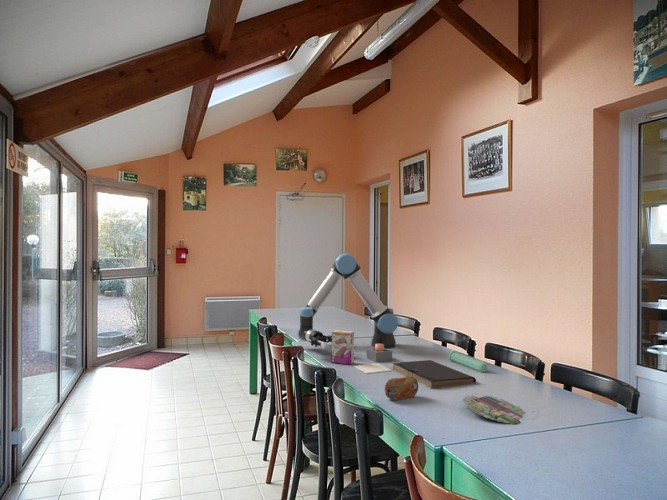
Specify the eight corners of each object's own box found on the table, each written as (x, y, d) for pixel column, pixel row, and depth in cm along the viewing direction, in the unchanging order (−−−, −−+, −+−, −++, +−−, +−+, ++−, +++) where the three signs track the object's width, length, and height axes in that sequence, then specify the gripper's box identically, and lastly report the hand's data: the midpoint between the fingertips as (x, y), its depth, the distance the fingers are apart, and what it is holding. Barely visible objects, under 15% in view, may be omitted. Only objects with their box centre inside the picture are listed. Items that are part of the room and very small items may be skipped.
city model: (521, 437, 151) (524, 420, 151) (452, 414, 163) (454, 398, 163) (533, 416, 172) (535, 400, 172) (471, 397, 185) (473, 382, 184)
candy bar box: (330, 363, 238) (331, 331, 238) (333, 360, 243) (334, 329, 243) (351, 365, 235) (351, 333, 235) (354, 362, 239) (354, 331, 239)
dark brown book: (392, 362, 227) (433, 359, 236) (392, 370, 227) (433, 367, 236) (430, 380, 196) (476, 376, 205) (430, 390, 196) (475, 385, 205)
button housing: (382, 356, 254) (382, 347, 254) (392, 360, 245) (392, 351, 245) (366, 357, 250) (366, 348, 250) (375, 362, 241) (375, 352, 241)
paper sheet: (377, 364, 237) (377, 363, 237) (391, 370, 224) (391, 370, 224) (353, 366, 232) (353, 365, 232) (366, 373, 219) (366, 372, 219)
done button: (381, 352, 251) (381, 343, 251) (385, 354, 247) (385, 344, 247) (373, 353, 249) (373, 343, 249) (377, 354, 245) (377, 345, 245)
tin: (387, 402, 178) (388, 380, 178) (383, 399, 181) (383, 378, 181) (418, 396, 185) (419, 376, 185) (414, 394, 188) (414, 374, 188)
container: (487, 360, 223) (455, 348, 247) (478, 365, 221) (447, 353, 245) (491, 371, 224) (459, 358, 248) (482, 376, 222) (450, 363, 246)
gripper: (333, 341, 268) (354, 348, 250) (295, 346, 254) (315, 353, 236) (333, 328, 268) (354, 334, 250) (295, 332, 254) (315, 339, 236)
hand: (335, 343), depth 243 cm, fingers open, 13 cm apart
